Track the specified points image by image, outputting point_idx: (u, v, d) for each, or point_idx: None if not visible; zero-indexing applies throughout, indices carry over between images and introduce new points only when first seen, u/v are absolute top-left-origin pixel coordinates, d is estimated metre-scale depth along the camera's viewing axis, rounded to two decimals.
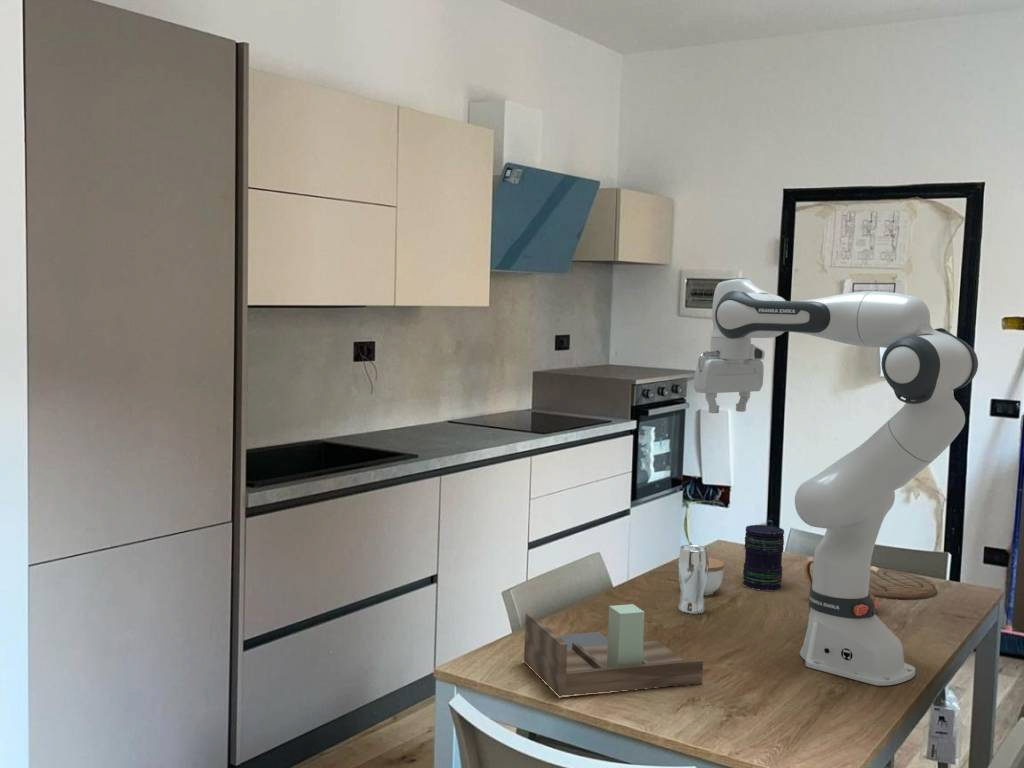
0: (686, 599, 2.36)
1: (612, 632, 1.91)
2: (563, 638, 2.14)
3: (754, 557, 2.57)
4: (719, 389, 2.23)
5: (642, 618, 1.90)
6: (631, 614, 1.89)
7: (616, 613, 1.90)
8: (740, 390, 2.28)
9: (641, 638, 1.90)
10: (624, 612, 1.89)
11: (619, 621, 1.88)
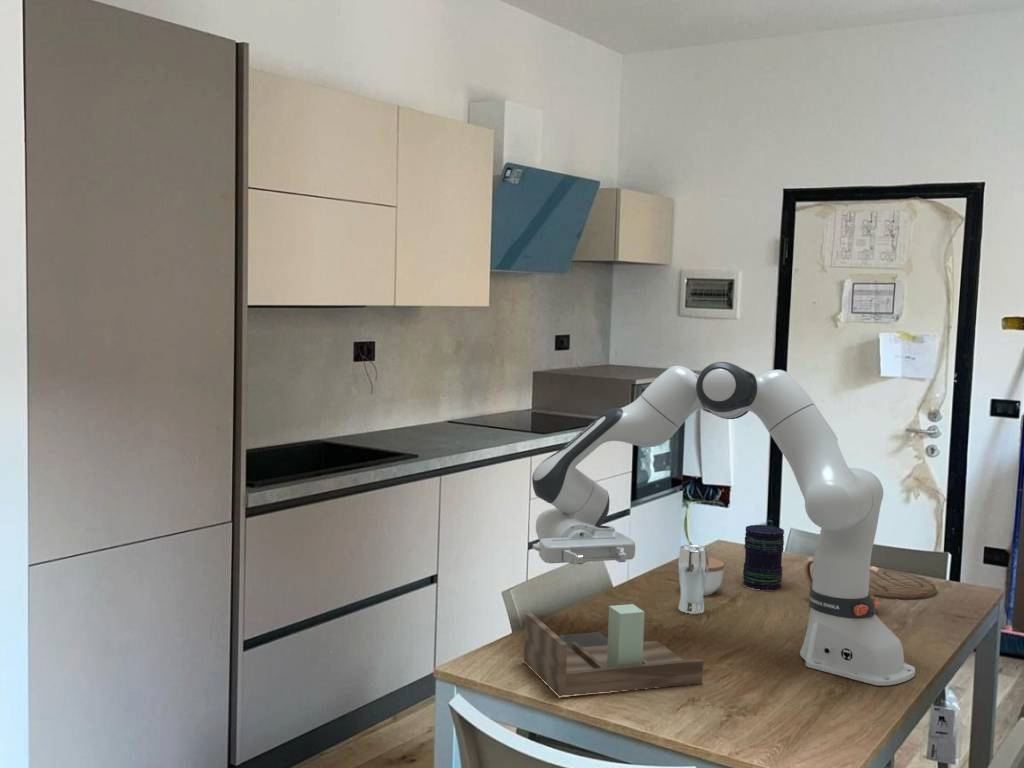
0: (686, 599, 2.36)
1: (612, 632, 1.91)
2: (563, 638, 2.14)
3: (754, 557, 2.57)
4: (567, 545, 2.06)
5: (642, 618, 1.90)
6: (631, 614, 1.89)
7: (616, 613, 1.90)
8: (601, 544, 2.08)
9: (641, 638, 1.90)
10: (624, 612, 1.89)
11: (619, 621, 1.88)
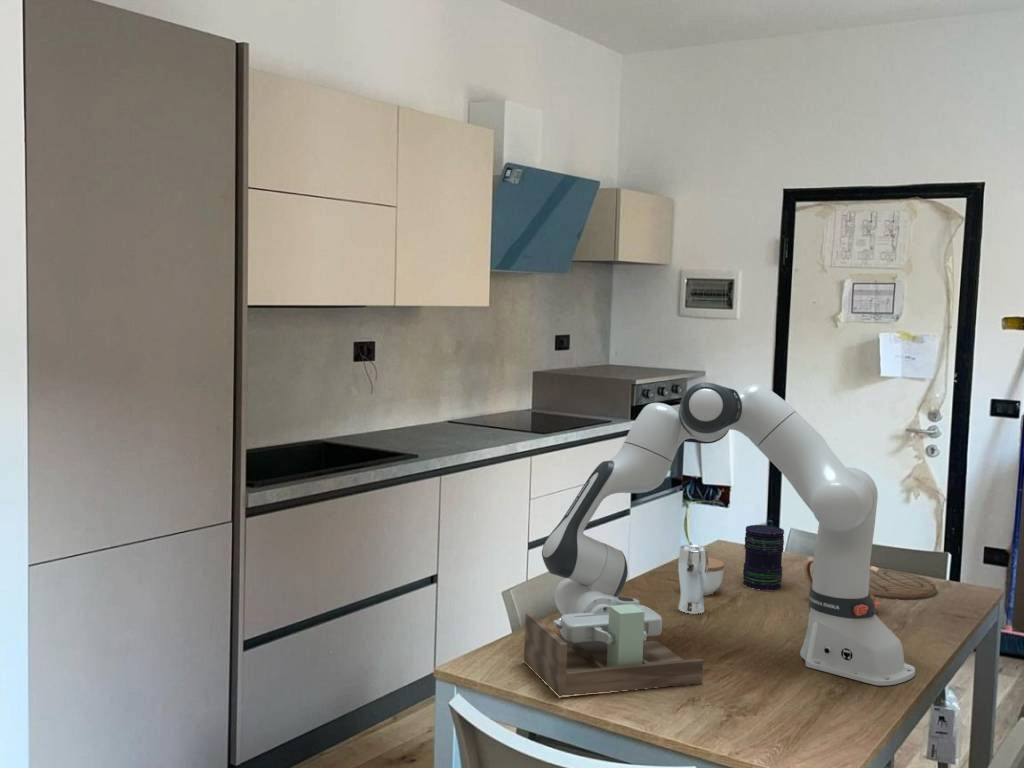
0: (686, 599, 2.36)
1: (612, 632, 1.91)
2: (563, 638, 2.14)
3: (754, 557, 2.57)
4: (590, 622, 1.94)
5: (642, 618, 1.90)
6: (631, 614, 1.89)
7: (616, 613, 1.90)
8: None
9: (641, 638, 1.90)
10: (624, 612, 1.89)
11: (619, 621, 1.88)
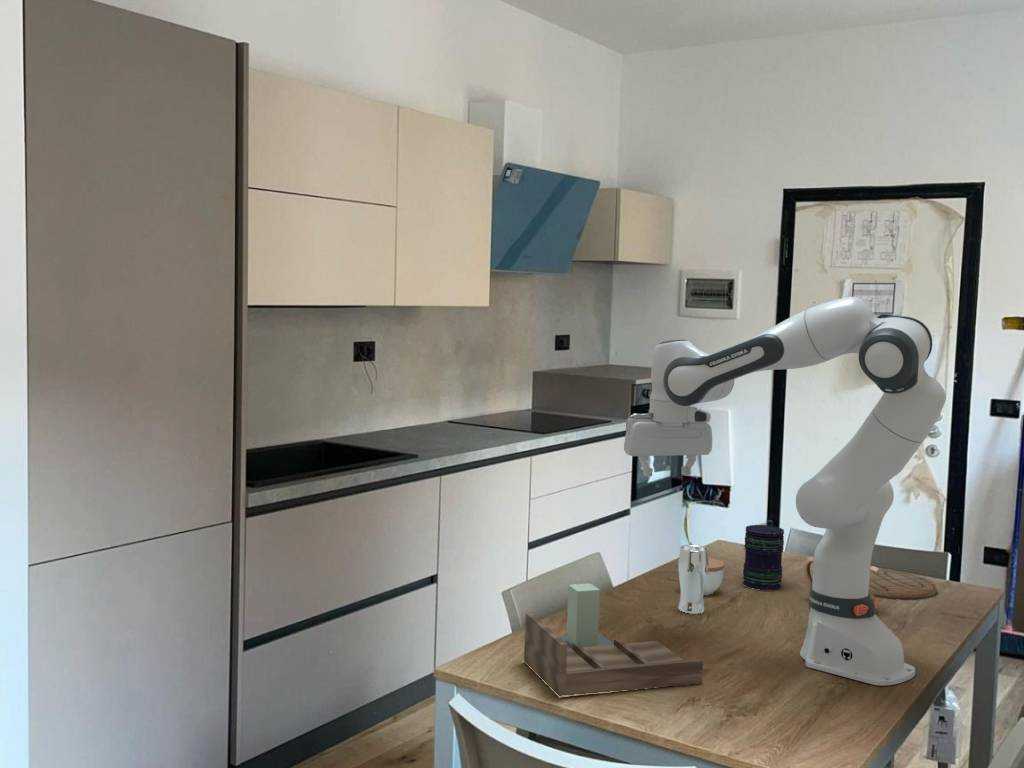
0: (686, 599, 2.36)
1: (571, 608, 2.11)
2: (563, 638, 2.14)
3: (754, 557, 2.57)
4: (650, 452, 2.19)
5: (598, 595, 2.09)
6: (587, 592, 2.08)
7: (574, 591, 2.09)
8: (680, 453, 2.22)
9: (597, 613, 2.09)
10: (582, 590, 2.08)
11: (576, 597, 2.08)
